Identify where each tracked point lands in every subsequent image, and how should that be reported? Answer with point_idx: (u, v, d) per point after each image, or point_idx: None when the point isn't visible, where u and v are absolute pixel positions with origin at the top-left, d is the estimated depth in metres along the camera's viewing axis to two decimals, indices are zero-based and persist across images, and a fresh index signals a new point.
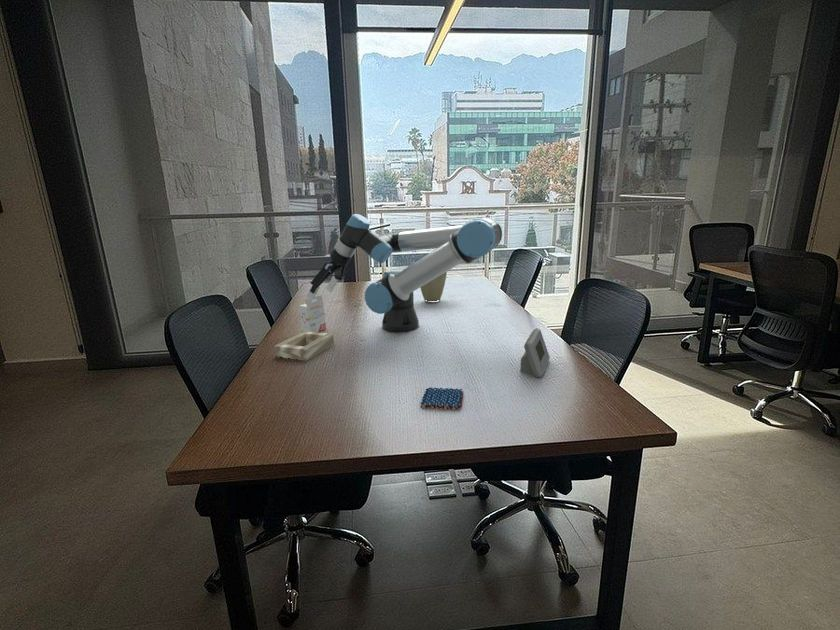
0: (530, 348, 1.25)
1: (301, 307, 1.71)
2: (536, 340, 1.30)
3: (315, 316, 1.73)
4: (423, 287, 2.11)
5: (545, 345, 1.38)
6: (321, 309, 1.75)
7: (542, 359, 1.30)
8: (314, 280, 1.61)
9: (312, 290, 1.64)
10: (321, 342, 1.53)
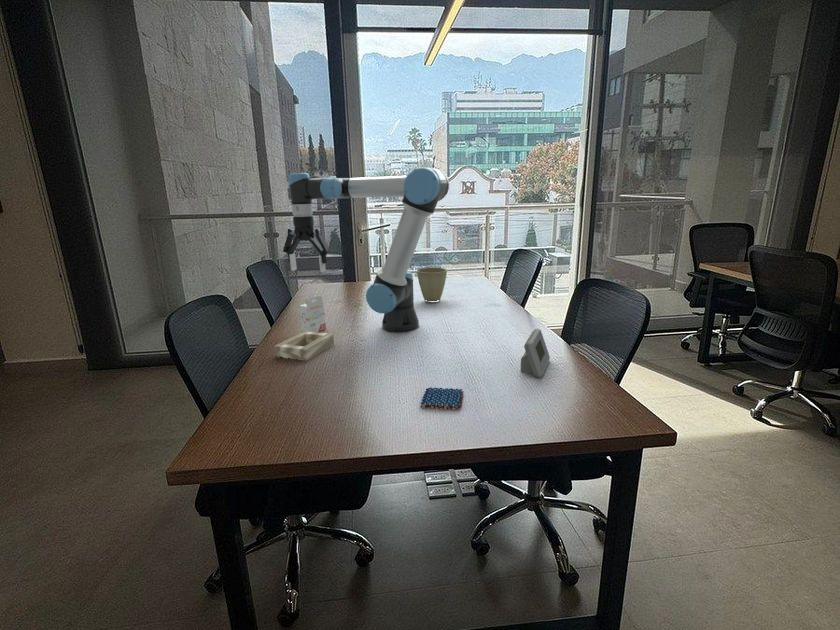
0: (530, 348, 1.25)
1: (301, 307, 1.71)
2: (536, 340, 1.30)
3: (315, 316, 1.73)
4: (423, 287, 2.11)
5: (545, 345, 1.38)
6: (321, 309, 1.75)
7: (542, 359, 1.30)
8: (326, 248, 1.64)
9: (325, 260, 1.66)
10: (321, 342, 1.53)
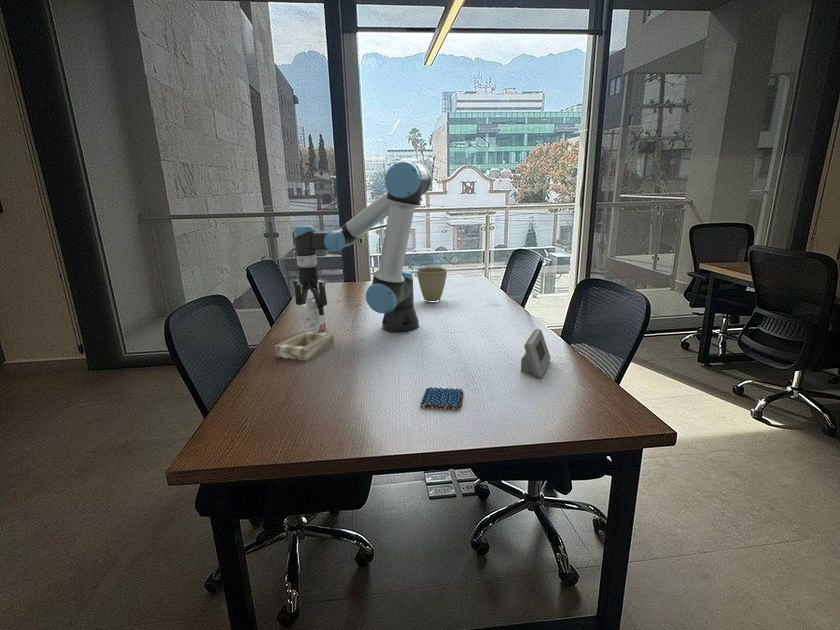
0: (530, 348, 1.24)
1: (301, 307, 1.71)
2: (536, 340, 1.30)
3: (315, 316, 1.73)
4: (423, 287, 2.11)
5: (546, 345, 1.37)
6: None
7: (542, 359, 1.30)
8: (324, 301, 1.71)
9: (322, 312, 1.73)
10: (321, 342, 1.53)
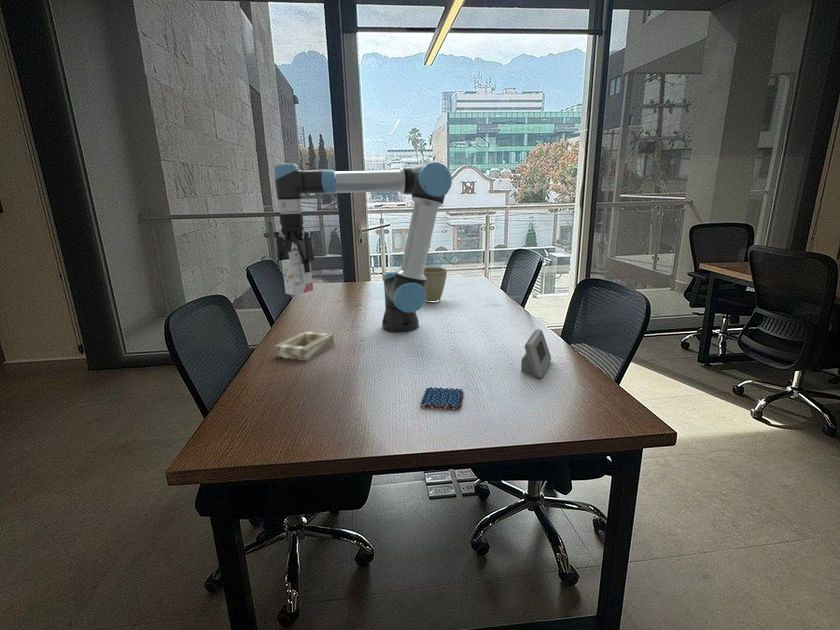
0: (530, 349, 1.24)
1: (283, 262, 1.46)
2: (537, 340, 1.29)
3: (300, 273, 1.47)
4: None
5: (547, 346, 1.37)
6: None
7: (543, 360, 1.30)
8: (310, 255, 1.45)
9: (308, 268, 1.47)
10: (321, 342, 1.53)
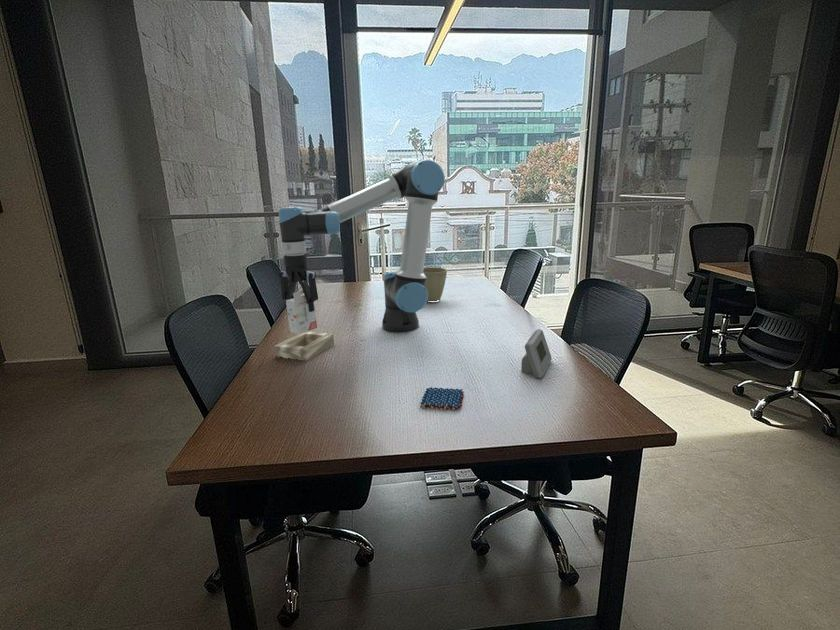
0: (530, 349, 1.24)
1: (288, 302, 1.48)
2: (537, 341, 1.29)
3: (304, 312, 1.49)
4: None
5: (547, 346, 1.37)
6: None
7: (543, 360, 1.30)
8: (314, 296, 1.47)
9: (313, 308, 1.50)
10: (321, 342, 1.53)
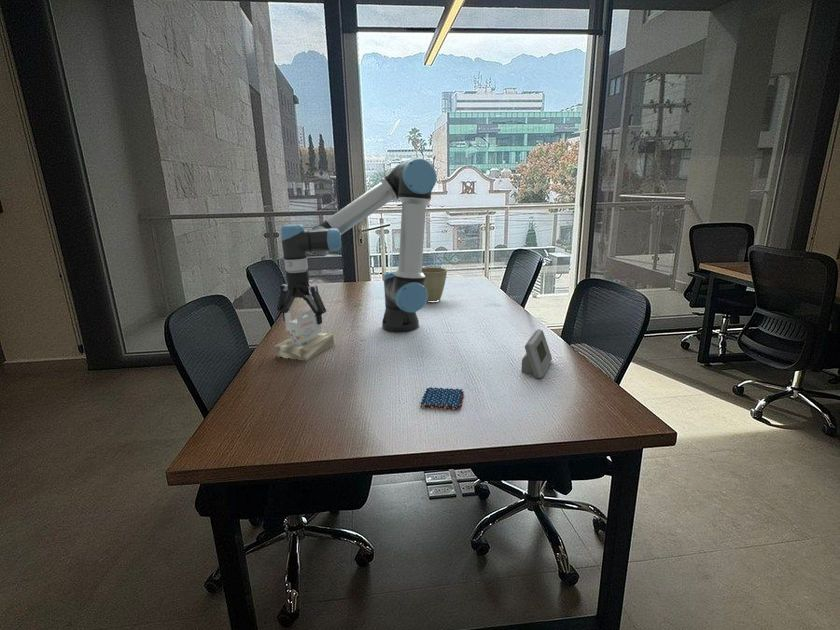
0: (530, 349, 1.24)
1: (290, 324, 1.50)
2: (537, 341, 1.29)
3: (306, 333, 1.52)
4: None
5: (547, 346, 1.37)
6: (313, 325, 1.54)
7: (543, 360, 1.29)
8: (321, 308, 1.47)
9: (321, 320, 1.50)
10: (321, 342, 1.53)
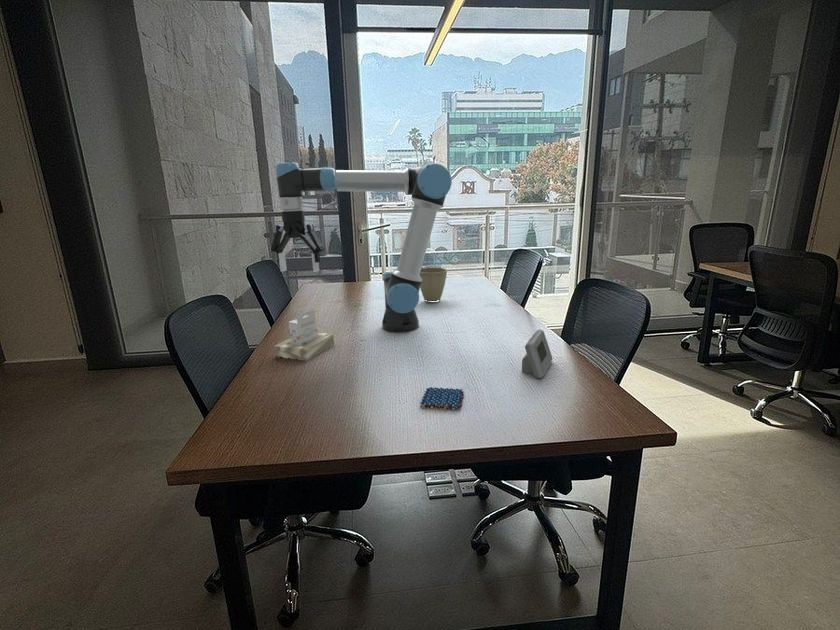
0: (530, 349, 1.24)
1: (291, 324, 1.50)
2: (538, 341, 1.29)
3: (307, 333, 1.52)
4: (423, 287, 2.11)
5: (548, 346, 1.37)
6: (313, 325, 1.54)
7: (544, 360, 1.29)
8: (319, 245, 1.48)
9: (319, 258, 1.51)
10: (321, 342, 1.53)
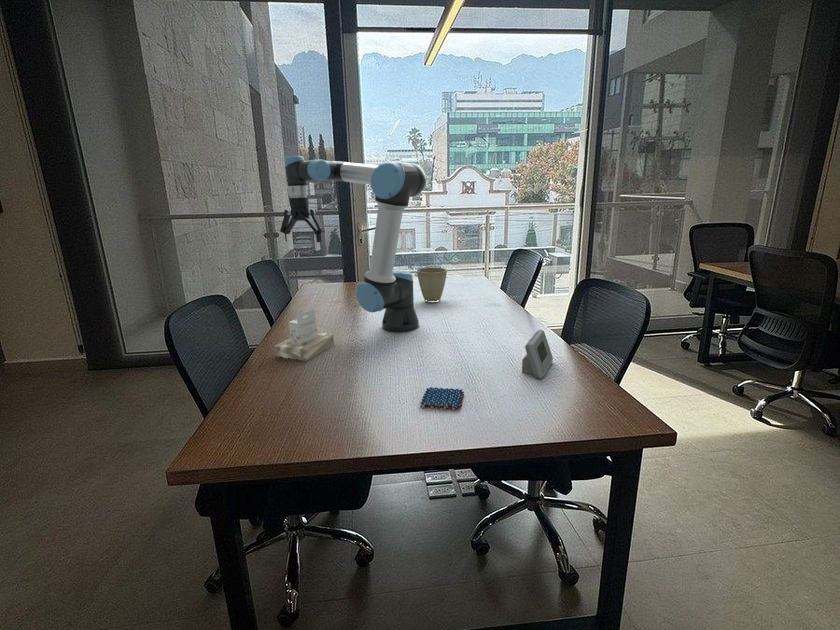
0: (530, 349, 1.24)
1: (291, 324, 1.50)
2: (538, 341, 1.29)
3: (307, 333, 1.52)
4: (423, 287, 2.11)
5: None
6: (313, 325, 1.54)
7: (544, 360, 1.29)
8: (320, 227, 1.74)
9: (320, 239, 1.76)
10: (321, 342, 1.53)
